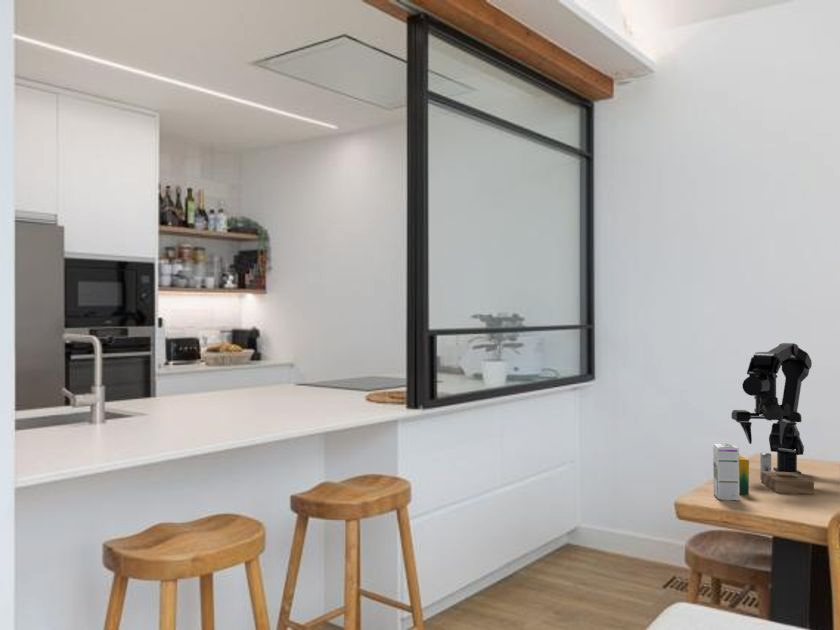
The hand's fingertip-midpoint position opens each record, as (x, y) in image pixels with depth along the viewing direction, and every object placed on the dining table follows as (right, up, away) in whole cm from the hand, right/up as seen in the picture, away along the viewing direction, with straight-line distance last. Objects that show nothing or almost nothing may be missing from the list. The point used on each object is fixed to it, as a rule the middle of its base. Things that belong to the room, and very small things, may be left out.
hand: (765, 444), depth 214 cm
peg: (0, -11, 0) cm, 11 cm away
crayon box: (-15, -11, -15) cm, 24 cm away
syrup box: (-22, -11, -22) cm, 33 cm away
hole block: (+1, -11, -11) cm, 16 cm away
